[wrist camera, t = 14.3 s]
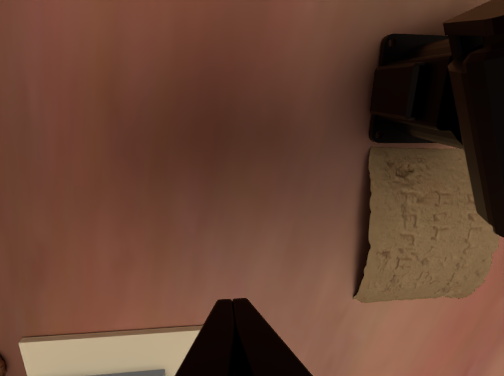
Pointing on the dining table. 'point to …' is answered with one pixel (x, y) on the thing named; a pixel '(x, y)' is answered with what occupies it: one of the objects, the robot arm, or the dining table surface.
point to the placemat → (108, 352)
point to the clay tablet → (423, 227)
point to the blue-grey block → (138, 373)
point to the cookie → (2, 367)
